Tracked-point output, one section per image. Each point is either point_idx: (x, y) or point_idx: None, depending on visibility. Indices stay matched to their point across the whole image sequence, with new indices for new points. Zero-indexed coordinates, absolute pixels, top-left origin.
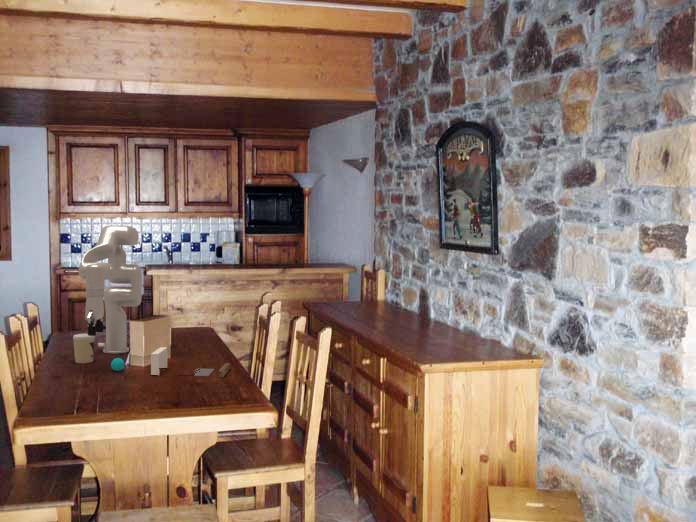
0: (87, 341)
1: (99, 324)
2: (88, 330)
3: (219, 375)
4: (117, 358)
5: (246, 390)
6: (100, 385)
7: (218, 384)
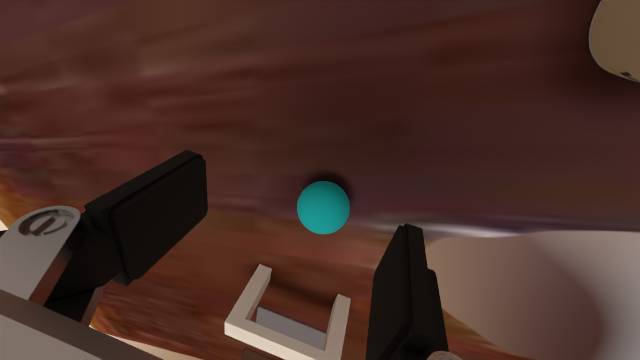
0: None
1: (379, 343)
2: (143, 179)
3: (244, 353)
4: (311, 222)
5: (171, 344)
6: (140, 140)
7: (197, 332)
